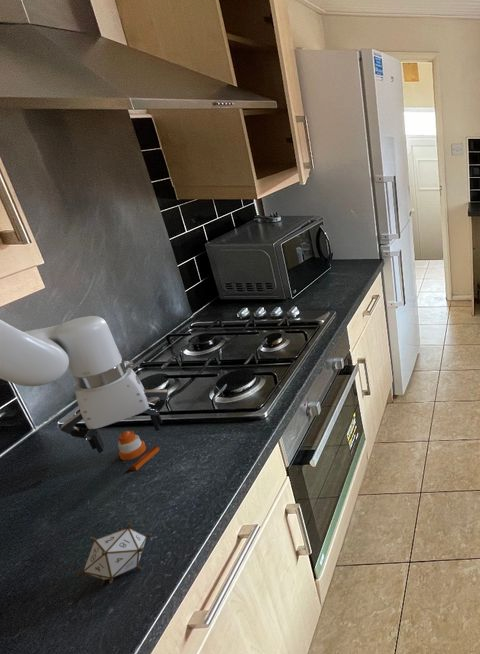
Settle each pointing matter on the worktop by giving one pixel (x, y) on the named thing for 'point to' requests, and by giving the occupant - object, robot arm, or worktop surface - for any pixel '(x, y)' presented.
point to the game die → (115, 554)
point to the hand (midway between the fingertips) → (130, 437)
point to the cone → (134, 449)
